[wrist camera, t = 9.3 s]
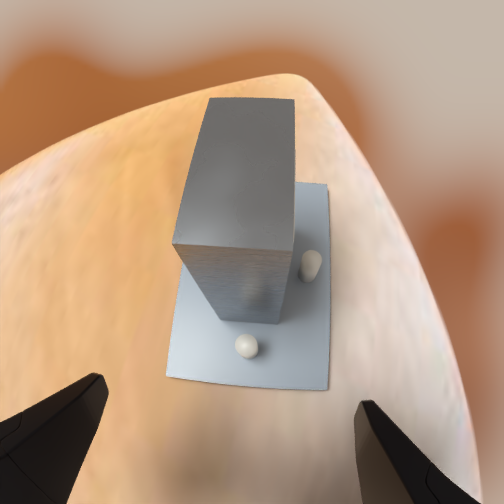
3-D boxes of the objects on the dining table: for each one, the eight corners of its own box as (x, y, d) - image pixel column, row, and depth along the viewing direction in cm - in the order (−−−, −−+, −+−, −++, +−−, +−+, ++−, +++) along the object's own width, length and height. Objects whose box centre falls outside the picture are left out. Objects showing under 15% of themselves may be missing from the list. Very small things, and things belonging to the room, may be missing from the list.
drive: (279, 324, 19) (298, 251, 9) (220, 320, 19) (171, 243, 9) (285, 226, 22) (297, 99, 12) (232, 222, 22) (209, 97, 12)
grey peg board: (324, 389, 18) (336, 390, 15) (169, 376, 18) (152, 374, 15) (325, 190, 24) (332, 163, 21) (201, 184, 25) (194, 157, 22)
